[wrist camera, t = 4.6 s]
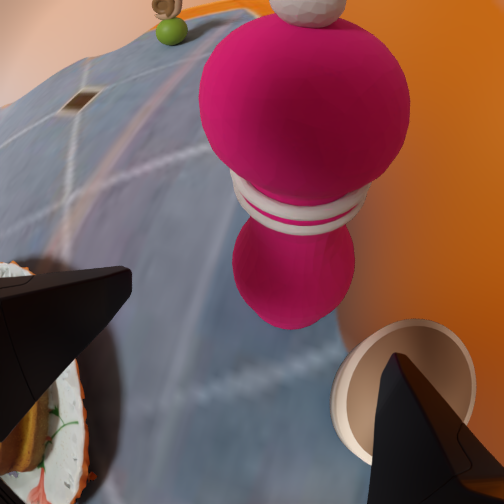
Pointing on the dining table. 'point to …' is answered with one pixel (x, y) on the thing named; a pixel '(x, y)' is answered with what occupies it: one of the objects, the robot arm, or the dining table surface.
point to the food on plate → (49, 438)
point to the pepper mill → (301, 148)
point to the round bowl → (373, 363)
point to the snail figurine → (169, 21)
